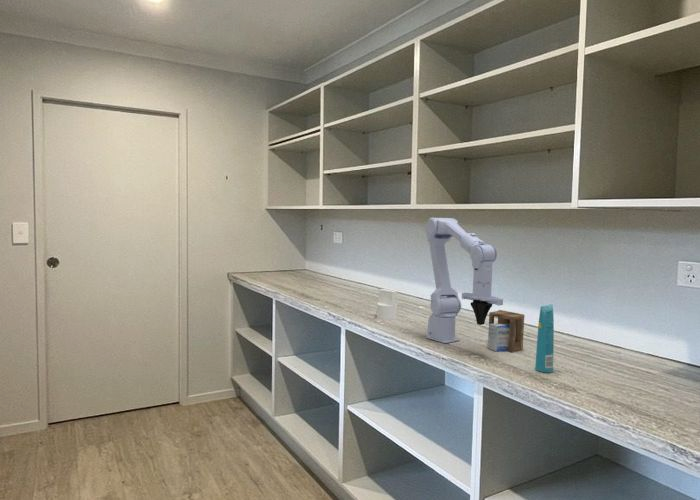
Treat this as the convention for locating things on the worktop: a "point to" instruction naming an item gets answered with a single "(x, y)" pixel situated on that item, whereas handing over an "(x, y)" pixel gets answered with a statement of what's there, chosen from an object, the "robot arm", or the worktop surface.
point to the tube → (545, 340)
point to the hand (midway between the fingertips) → (480, 324)
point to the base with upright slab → (387, 305)
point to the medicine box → (499, 336)
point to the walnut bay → (511, 327)
